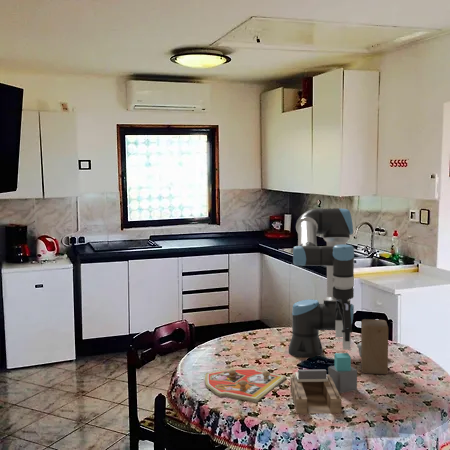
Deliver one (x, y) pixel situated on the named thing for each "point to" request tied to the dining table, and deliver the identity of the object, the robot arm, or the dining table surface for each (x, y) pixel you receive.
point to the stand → (343, 379)
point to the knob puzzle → (242, 383)
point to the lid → (311, 375)
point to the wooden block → (374, 346)
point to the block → (342, 362)
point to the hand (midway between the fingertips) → (342, 343)
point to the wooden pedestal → (315, 397)
